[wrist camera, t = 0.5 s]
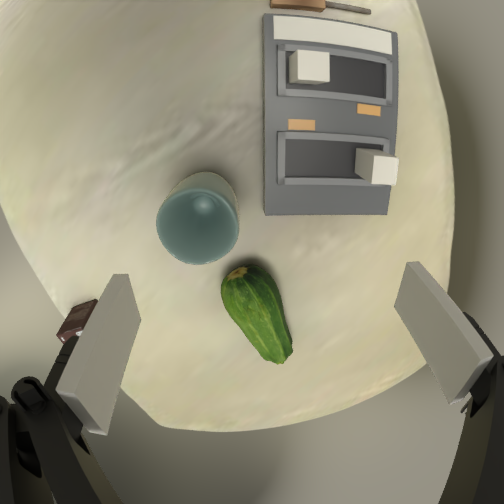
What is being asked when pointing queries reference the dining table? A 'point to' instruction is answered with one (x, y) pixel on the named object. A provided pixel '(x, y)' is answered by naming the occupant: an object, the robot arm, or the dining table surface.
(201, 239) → the cup
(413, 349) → the dining table surface
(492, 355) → the robot arm
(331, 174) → the switch board
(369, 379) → the dining table surface
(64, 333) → the box
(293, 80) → the tab
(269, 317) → the vegetable
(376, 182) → the tab
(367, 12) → the screwdriver
